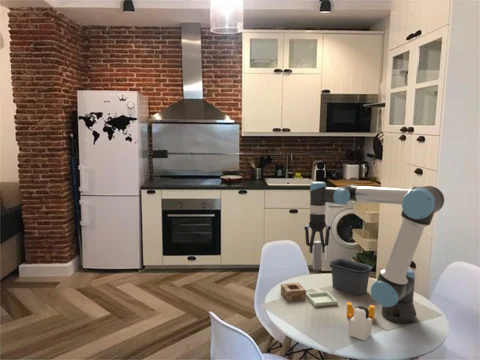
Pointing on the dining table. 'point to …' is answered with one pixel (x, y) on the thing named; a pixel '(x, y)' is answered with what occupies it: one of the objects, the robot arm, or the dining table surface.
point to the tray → (321, 299)
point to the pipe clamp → (351, 311)
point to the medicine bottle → (360, 323)
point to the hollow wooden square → (293, 291)
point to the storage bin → (350, 276)
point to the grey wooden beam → (317, 255)
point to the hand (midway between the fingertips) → (316, 259)
